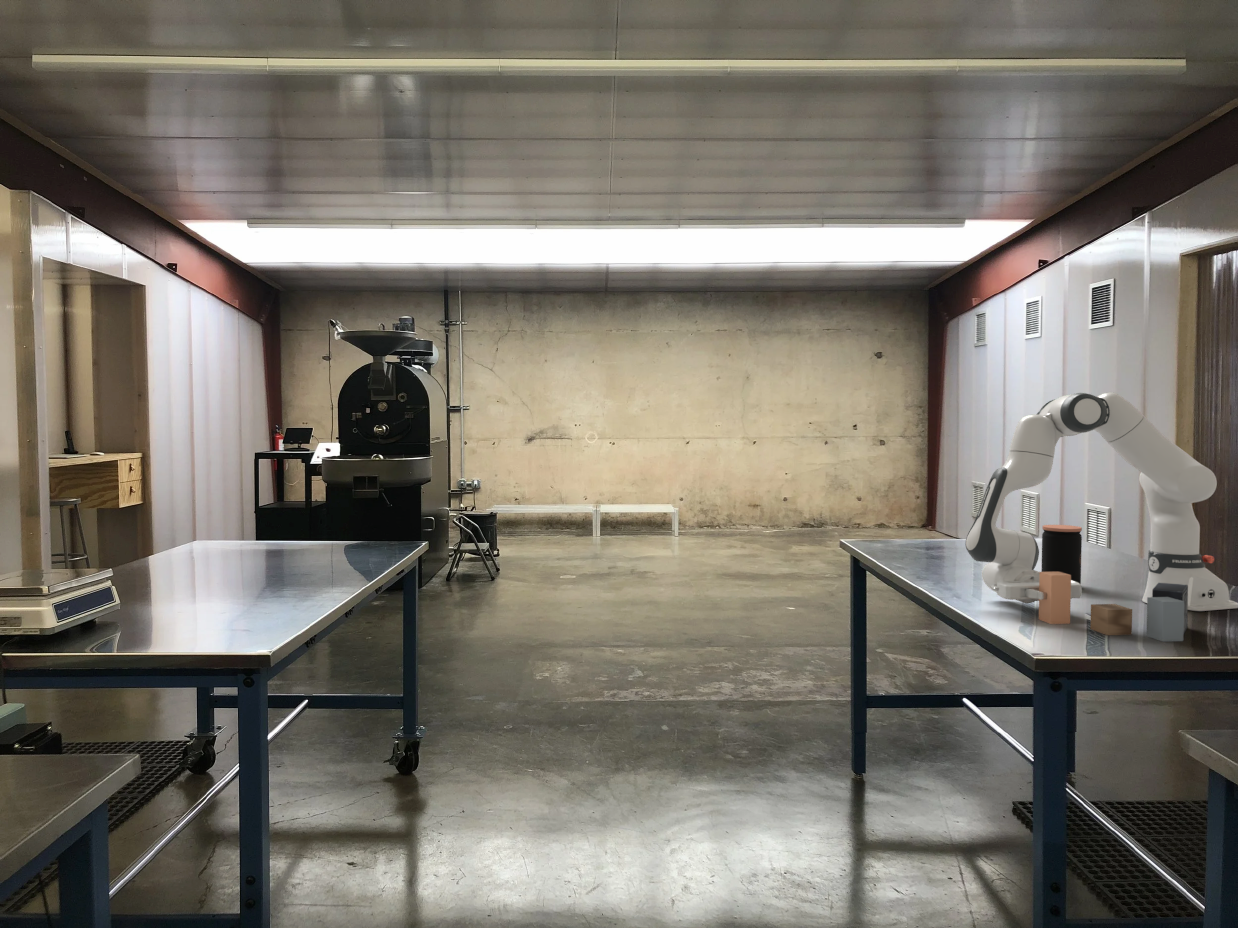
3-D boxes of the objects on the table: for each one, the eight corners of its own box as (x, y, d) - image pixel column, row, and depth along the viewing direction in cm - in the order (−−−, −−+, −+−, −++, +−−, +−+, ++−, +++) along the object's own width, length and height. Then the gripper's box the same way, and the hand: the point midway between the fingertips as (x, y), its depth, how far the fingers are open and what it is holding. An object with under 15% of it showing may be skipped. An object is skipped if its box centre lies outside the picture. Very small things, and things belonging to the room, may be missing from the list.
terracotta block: (1057, 618, 209) (1058, 571, 208) (1070, 623, 204) (1071, 574, 203) (1038, 619, 208) (1039, 571, 208) (1050, 623, 203) (1051, 575, 203)
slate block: (1166, 635, 192) (1167, 596, 191) (1183, 640, 187) (1184, 601, 186) (1146, 635, 191) (1147, 597, 191) (1162, 641, 186) (1163, 601, 186)
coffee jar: (1088, 589, 247) (1089, 528, 246) (1051, 589, 247) (1053, 528, 246) (1069, 582, 257) (1070, 524, 257) (1034, 582, 258) (1035, 524, 257)
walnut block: (1114, 628, 199) (1114, 603, 198) (1131, 634, 193) (1132, 609, 192) (1090, 629, 198) (1090, 604, 198) (1107, 635, 192) (1107, 609, 192)
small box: (1156, 623, 203) (1157, 581, 203) (1188, 627, 199) (1189, 584, 198) (1150, 632, 195) (1151, 588, 194) (1183, 636, 191) (1184, 591, 190)
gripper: (987, 574, 217) (1016, 584, 204) (1061, 572, 219) (1095, 582, 205) (986, 598, 218) (1016, 609, 204) (1061, 596, 219) (1095, 607, 206)
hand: (1056, 595), depth 205 cm, fingers closed on terracotta block, 5 cm apart
